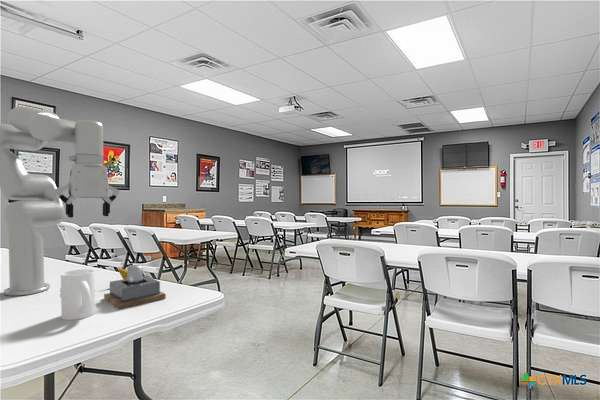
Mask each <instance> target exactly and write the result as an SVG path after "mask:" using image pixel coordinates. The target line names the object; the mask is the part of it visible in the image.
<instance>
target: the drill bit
mask: <svg viewBox="0 0 600 400" xmlns="http://www.w3.org/2000/svg"><path fill="white" fill-rule="evenodd" d="M116 269H117V270H118V272H119V274H120V276H121V278H122V280H123V279H128V275H127V269H123V268H120V267H116Z"/></svg>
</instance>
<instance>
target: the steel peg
mask: <svg viewBox="0 0 600 400" xmlns="http://www.w3.org/2000/svg"><path fill="white" fill-rule="evenodd" d="M143 267H144V266H143V265H142V264H131V265H128V266H127V269H126V270H127V275H128V285H133V284H139V283H143V276H144V275H143Z"/></svg>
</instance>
